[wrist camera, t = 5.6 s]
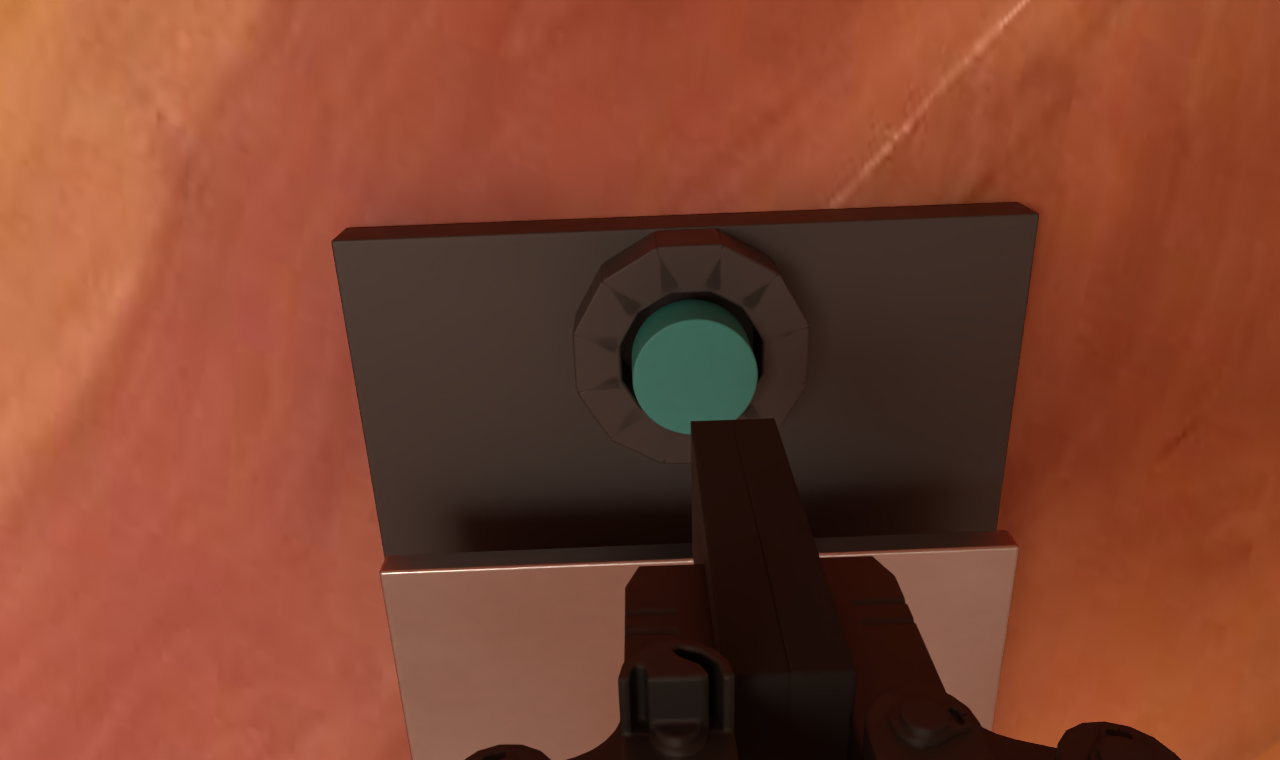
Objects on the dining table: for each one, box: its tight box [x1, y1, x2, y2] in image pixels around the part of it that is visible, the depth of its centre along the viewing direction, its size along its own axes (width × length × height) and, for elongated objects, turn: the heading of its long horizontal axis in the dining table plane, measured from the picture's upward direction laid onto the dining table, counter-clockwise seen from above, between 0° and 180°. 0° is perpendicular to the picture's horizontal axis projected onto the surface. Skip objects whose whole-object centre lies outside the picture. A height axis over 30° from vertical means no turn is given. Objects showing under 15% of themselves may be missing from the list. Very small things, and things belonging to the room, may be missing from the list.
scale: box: [331, 202, 1039, 558], centre depth 28 cm, size 18×22×3 cm
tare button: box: [632, 299, 758, 434], centre depth 23 cm, size 3×3×2 cm
